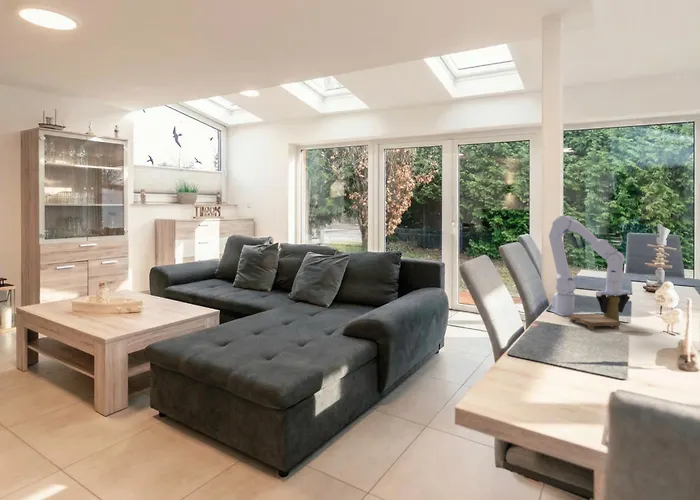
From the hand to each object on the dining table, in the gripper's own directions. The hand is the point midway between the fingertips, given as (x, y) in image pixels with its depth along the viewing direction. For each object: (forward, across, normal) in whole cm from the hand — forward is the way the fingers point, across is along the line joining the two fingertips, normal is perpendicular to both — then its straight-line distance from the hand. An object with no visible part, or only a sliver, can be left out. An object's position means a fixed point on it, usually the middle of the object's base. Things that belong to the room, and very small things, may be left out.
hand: (611, 312), depth 189 cm
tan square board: (+4, -12, -5) cm, 14 cm away
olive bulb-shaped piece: (+4, 0, 0) cm, 4 cm away
